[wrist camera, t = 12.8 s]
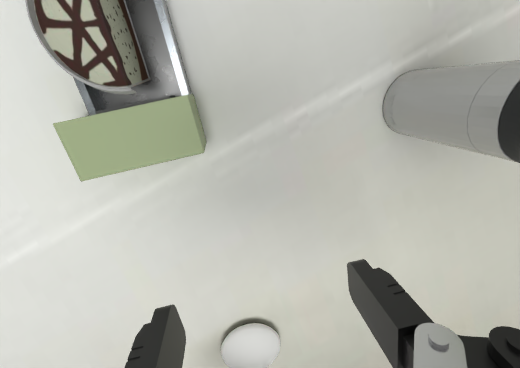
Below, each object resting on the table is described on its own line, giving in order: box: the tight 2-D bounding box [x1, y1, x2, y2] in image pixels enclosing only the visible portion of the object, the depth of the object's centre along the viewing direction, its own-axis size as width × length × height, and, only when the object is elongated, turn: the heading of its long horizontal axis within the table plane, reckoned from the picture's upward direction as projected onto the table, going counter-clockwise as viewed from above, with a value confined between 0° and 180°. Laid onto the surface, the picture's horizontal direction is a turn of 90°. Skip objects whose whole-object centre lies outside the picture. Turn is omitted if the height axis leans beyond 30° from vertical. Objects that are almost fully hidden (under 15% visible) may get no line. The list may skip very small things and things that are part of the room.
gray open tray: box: [73, 0, 191, 116], centre depth 29 cm, size 12×15×4 cm
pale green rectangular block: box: [53, 94, 206, 181], centre depth 32 cm, size 14×7×7 cm, turn 101°
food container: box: [25, 0, 151, 94], centre depth 26 cm, size 12×6×10 cm, turn 11°
